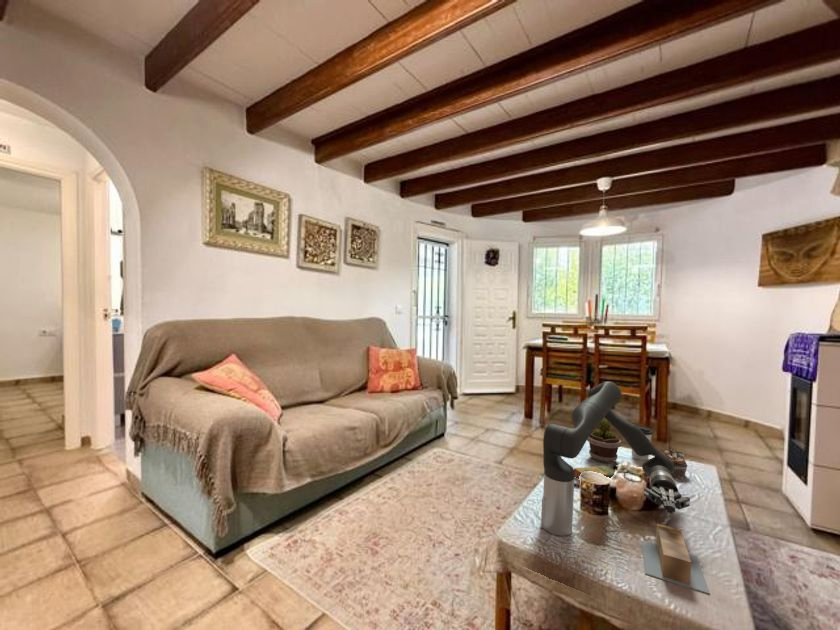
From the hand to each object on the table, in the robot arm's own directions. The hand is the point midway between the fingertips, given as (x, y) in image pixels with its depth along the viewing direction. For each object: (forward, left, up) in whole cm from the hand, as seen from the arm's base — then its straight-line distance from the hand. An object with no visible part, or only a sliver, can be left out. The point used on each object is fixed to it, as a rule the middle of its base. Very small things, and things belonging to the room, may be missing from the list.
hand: (670, 509), depth 110 cm
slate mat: (0, -8, -12) cm, 14 cm away
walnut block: (0, +1, -9) cm, 9 cm away
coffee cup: (-3, +76, -12) cm, 77 cm away
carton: (-21, +38, -13) cm, 45 cm away
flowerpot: (-19, +63, -12) cm, 67 cm away
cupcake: (+9, +63, -12) cm, 65 cm away
